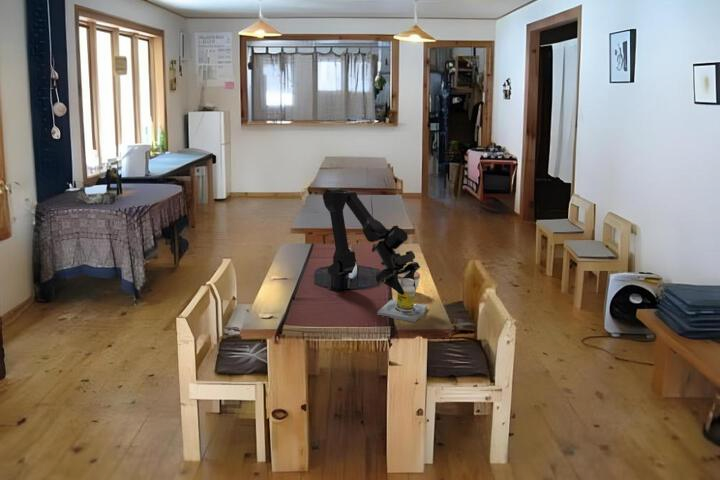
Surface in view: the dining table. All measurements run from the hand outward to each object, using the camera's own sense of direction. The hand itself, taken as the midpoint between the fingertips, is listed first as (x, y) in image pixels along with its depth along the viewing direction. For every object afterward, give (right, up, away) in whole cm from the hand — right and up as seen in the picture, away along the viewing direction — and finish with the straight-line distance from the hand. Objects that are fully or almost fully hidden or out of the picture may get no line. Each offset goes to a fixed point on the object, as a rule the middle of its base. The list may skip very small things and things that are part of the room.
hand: (409, 292), depth 271 cm
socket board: (-2, -7, +3) cm, 8 cm away
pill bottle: (-1, -6, +2) cm, 7 cm away
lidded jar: (0, -2, +26) cm, 26 cm away
